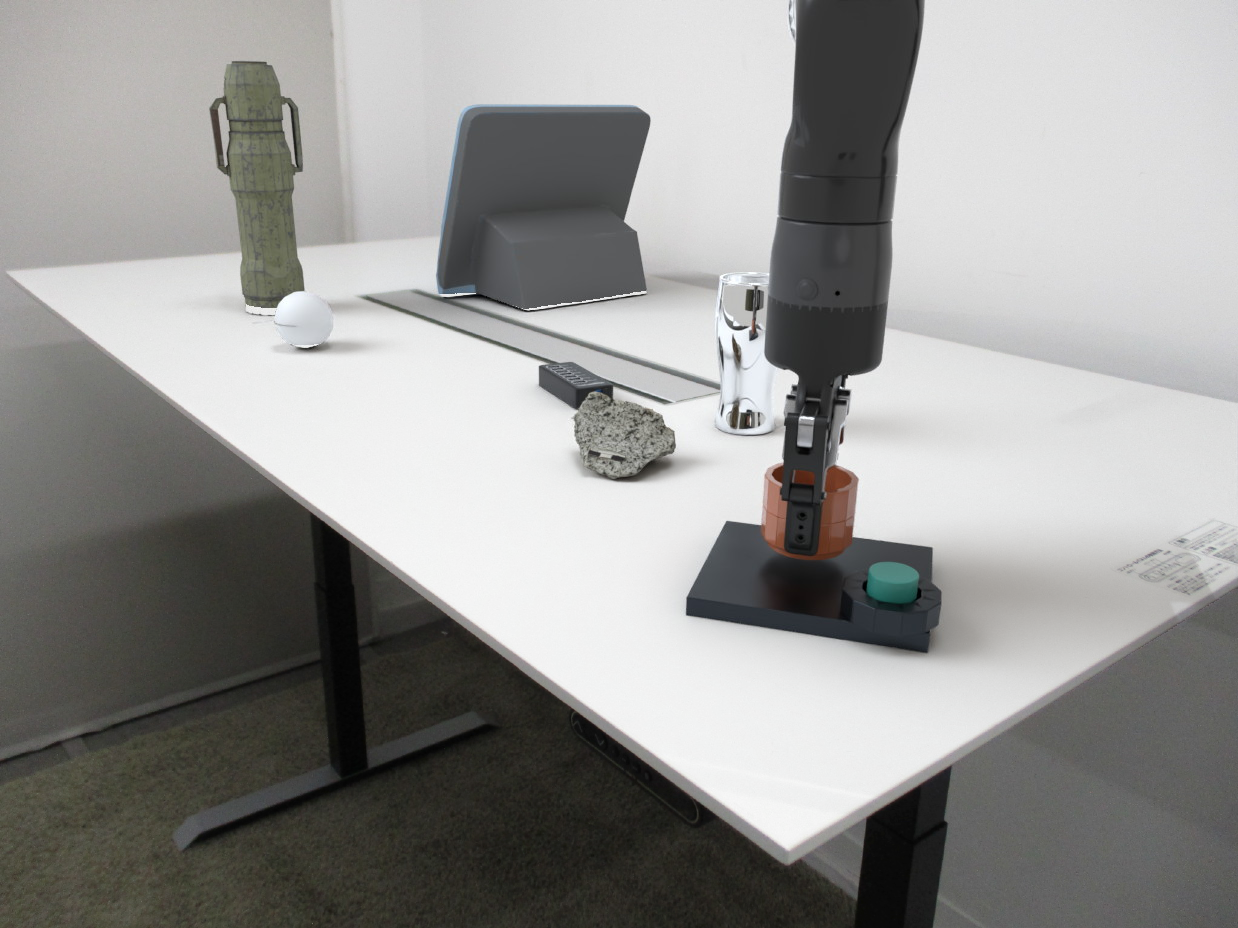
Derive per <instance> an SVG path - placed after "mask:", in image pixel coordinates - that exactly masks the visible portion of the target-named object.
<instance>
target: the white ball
mask: <svg viewBox="0 0 1238 928" xmlns="http://www.w3.org/2000/svg"><path fill="white" fill-rule="evenodd" d="M272 321H273V320H265V321H257V322H252V325H253V324H261V323H268V322H272ZM273 323H274V325H275V330H276V332H277V333H278V335H279V336H280V338H281V339H282V340H283V341H284V342H286V343H287V344H288V345H290V344H294V345H314V344H320V343H322V344H324V343H325V341H326V340H328V338H329V337H330V336H331V333H332V331H333V329H334V315H333V310H332V308H331V307H330V305H329V303H328V301H326V300H325V299H324V298H323V297H322V296H320V295H319V294H316V293H314V292H311V291H306V290H305V291H299V292H293V293H291V294H290V295H288V296H286V297H284V298H283V299H282V301H281V302H280V303H279V304H278V306H277V309H276V311H275V316H274V321H273ZM320 345H321V344H320Z"/></svg>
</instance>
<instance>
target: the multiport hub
mask: <svg viewBox="0 0 1238 928" xmlns="http://www.w3.org/2000/svg"><path fill="white" fill-rule="evenodd" d="M538 386H539V387H541V388H543V389H544V390H546V391H547V392H549V393H550V394H551V395H553V396H554V397H556V398H557V399H558V400H561V401H562V402H564V403H565V404H567V405H569V406H570V407H571V408H573V409H574V410H577V409H578V408H579V407H581V405H582V402H583V401H585V400H586V399H585V398H586V397H588V395H589V393H591V392H596V391H597V392H600V393H602V394H605V395H608V396H609V398H611V399H613V400H614V384H613V383H611V382H610V381H608V380H606V379H604V378H603V377H600V376H599V375H597V374H595V373H594V372H592V371H590V370H588V369H586V368H585V367H583V366H581V365H580V364H578V363H576V362H573V361H565V362H564V361H563V362H556V363H546V364H540V365H538ZM612 393H613V394H612ZM611 396H612V397H611Z"/></svg>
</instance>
